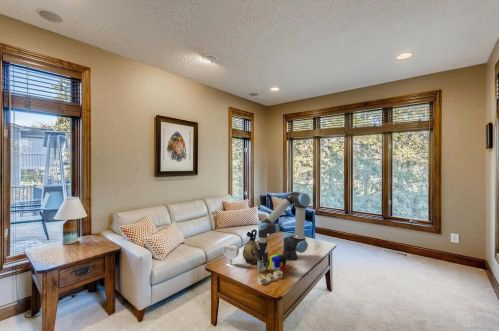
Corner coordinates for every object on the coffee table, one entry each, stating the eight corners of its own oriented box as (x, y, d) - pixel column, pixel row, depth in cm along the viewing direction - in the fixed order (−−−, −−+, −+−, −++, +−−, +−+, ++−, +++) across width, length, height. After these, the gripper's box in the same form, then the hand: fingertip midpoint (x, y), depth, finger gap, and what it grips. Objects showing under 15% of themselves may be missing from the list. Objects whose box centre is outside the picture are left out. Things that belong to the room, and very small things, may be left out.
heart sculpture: (222, 264, 214) (222, 244, 213) (225, 262, 218) (225, 243, 218) (236, 268, 206) (236, 248, 205) (239, 266, 210) (239, 246, 210)
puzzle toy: (277, 271, 201) (277, 259, 200) (269, 267, 209) (269, 256, 208) (285, 268, 206) (285, 257, 206) (277, 264, 214) (277, 253, 214)
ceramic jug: (251, 266, 210) (251, 233, 209) (239, 261, 220) (239, 229, 220) (263, 261, 222) (263, 229, 222) (251, 256, 233) (252, 226, 232)
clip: (265, 269, 204) (265, 258, 204) (267, 270, 202) (267, 259, 202) (257, 272, 199) (257, 260, 199) (259, 273, 197) (259, 262, 197)
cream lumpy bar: (278, 275, 194) (278, 270, 194) (282, 277, 190) (282, 272, 190) (257, 282, 182) (257, 277, 182) (260, 285, 178) (260, 280, 178)
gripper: (253, 239, 205) (253, 266, 205) (265, 245, 192) (264, 273, 192) (260, 238, 209) (260, 264, 209) (272, 243, 196) (272, 271, 196)
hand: (262, 269), depth 201 cm, fingers closed on clip, 3 cm apart
